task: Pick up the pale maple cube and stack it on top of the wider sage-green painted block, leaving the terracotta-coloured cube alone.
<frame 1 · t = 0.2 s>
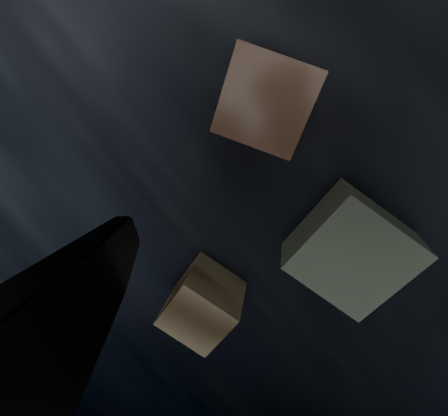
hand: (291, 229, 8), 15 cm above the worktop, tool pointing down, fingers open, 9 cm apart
maple cube: (209, 284, 28), on the worktop
sage block: (344, 236, 24), on the worktop
terracotta cube: (269, 99, 21), on the worktop
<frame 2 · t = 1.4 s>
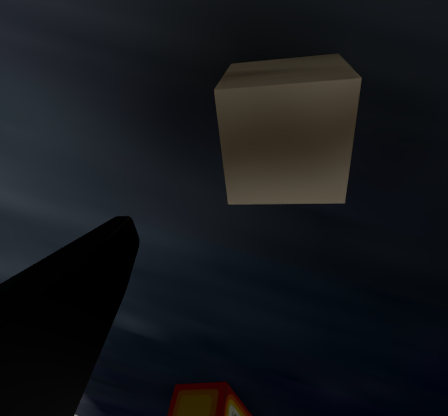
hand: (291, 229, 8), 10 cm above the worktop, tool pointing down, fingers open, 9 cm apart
maple cube: (283, 110, 16), on the worktop
baking soda box: (217, 400, 37), on the worktop
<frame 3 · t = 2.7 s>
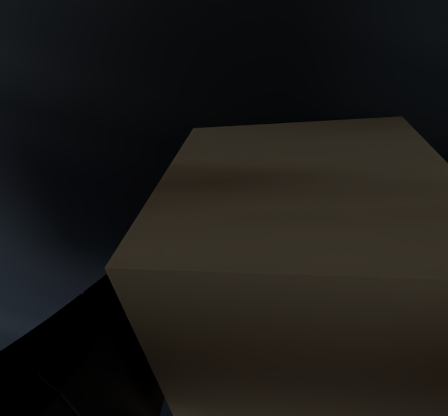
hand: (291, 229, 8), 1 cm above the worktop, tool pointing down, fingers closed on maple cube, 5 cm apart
maple cube: (290, 206, 9), on the worktop, touching gripper
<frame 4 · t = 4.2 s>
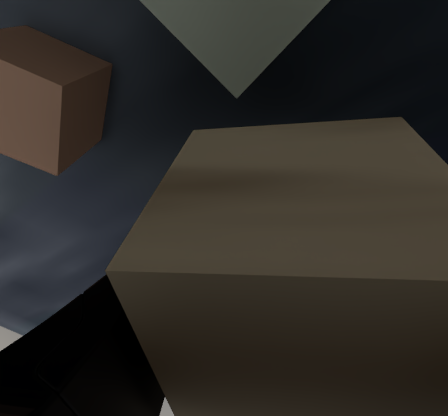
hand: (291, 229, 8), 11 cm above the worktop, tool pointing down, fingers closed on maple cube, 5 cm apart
maple cube: (290, 207, 9), point 10 cm above the worktop, touching gripper
terracotta cube: (67, 87, 19), on the worktop
when the fingers open (7 cm above the worktop, at t = 5.7 s): maple cube drops 2 cm, resting on sage block.
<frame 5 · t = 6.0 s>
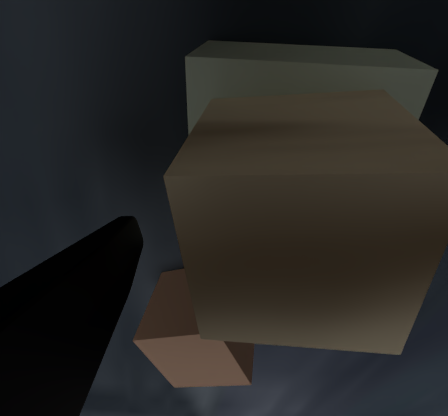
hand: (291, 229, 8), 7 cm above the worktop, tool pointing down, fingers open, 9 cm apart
maple cube: (290, 169, 10), point 4 cm above the worktop, touching sage block
sage block: (285, 130, 14), on the worktop, touching maple cube
terracotta cube: (210, 291, 21), on the worktop
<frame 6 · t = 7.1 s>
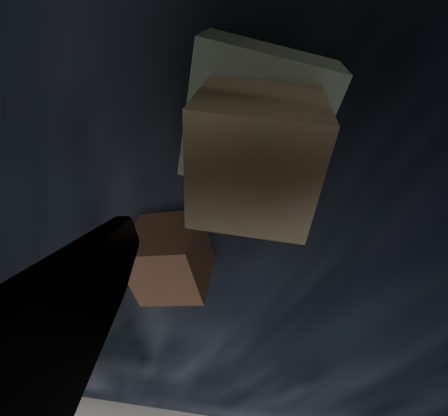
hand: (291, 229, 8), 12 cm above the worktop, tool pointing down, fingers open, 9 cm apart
maple cube: (257, 132, 15), point 4 cm above the worktop, touching sage block
sage block: (257, 107, 18), on the worktop, touching maple cube
terracotta cube: (179, 235, 25), on the worktop
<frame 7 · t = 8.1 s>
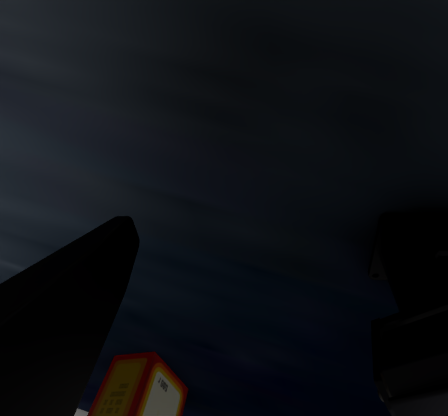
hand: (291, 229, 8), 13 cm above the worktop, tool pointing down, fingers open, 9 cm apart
baking soda box: (153, 371, 42), on the worktop
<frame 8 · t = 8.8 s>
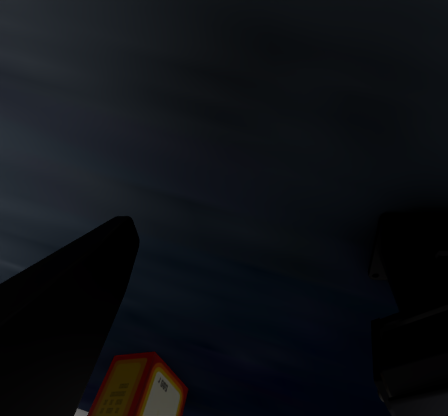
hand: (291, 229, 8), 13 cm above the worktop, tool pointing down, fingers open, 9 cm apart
baking soda box: (153, 371, 42), on the worktop
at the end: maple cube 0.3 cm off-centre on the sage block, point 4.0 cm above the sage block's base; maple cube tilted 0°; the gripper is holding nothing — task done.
